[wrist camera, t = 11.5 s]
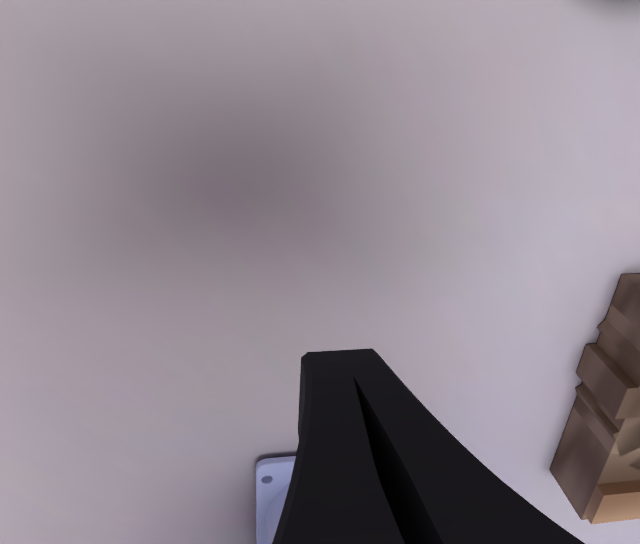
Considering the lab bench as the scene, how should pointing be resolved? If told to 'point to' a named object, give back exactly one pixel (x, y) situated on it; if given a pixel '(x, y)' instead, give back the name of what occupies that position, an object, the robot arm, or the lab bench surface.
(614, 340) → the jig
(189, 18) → the lab bench surface
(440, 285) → the lab bench surface
